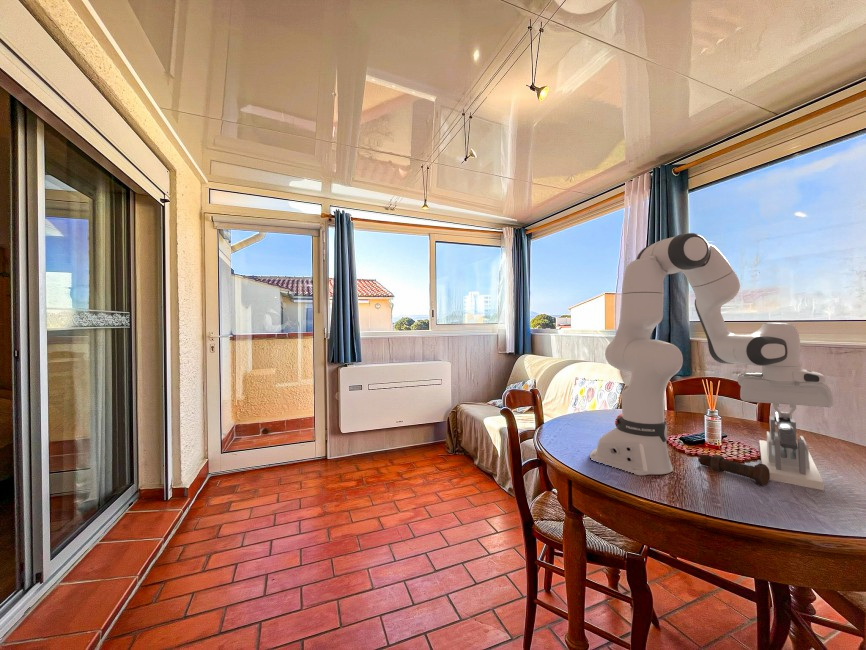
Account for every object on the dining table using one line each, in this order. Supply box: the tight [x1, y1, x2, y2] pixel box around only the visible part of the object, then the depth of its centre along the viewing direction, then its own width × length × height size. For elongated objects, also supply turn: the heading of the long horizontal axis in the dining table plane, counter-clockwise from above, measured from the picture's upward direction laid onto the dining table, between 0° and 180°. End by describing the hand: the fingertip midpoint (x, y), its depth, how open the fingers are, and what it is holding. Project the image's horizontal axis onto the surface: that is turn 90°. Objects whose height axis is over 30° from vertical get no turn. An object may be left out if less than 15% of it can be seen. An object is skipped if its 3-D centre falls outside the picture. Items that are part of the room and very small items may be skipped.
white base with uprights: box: [758, 415, 825, 491], centre depth 101 cm, size 11×32×11 cm, turn 137°
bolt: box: [697, 454, 771, 487], centre depth 96 cm, size 6×5×15 cm
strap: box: [774, 411, 798, 449], centre depth 101 cm, size 3×24×1 cm, turn 137°
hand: (784, 418), depth 106 cm, fingers closed, pressing on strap
